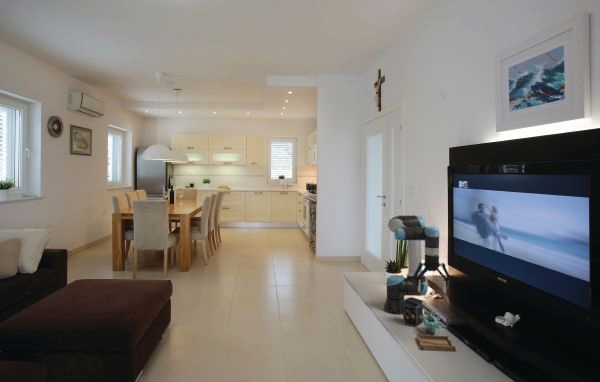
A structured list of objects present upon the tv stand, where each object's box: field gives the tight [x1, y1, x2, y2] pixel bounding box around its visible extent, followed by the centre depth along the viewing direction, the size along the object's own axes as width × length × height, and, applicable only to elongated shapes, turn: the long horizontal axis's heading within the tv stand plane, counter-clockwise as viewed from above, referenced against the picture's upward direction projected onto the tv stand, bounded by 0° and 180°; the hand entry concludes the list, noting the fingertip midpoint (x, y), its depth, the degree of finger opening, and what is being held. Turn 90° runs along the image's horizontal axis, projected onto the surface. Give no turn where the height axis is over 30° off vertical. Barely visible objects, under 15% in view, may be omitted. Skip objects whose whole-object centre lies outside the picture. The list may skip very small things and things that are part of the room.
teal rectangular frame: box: [422, 314, 440, 331], centre depth 205 cm, size 13×7×3 cm, turn 173°
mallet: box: [424, 310, 437, 336], centre depth 206 cm, size 5×6×12 cm
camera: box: [402, 296, 424, 327], centre depth 220 cm, size 10×11×15 cm
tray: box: [416, 334, 456, 352], centre depth 191 cm, size 13×17×2 cm
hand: (431, 291), depth 199 cm, fingers open, 13 cm apart
